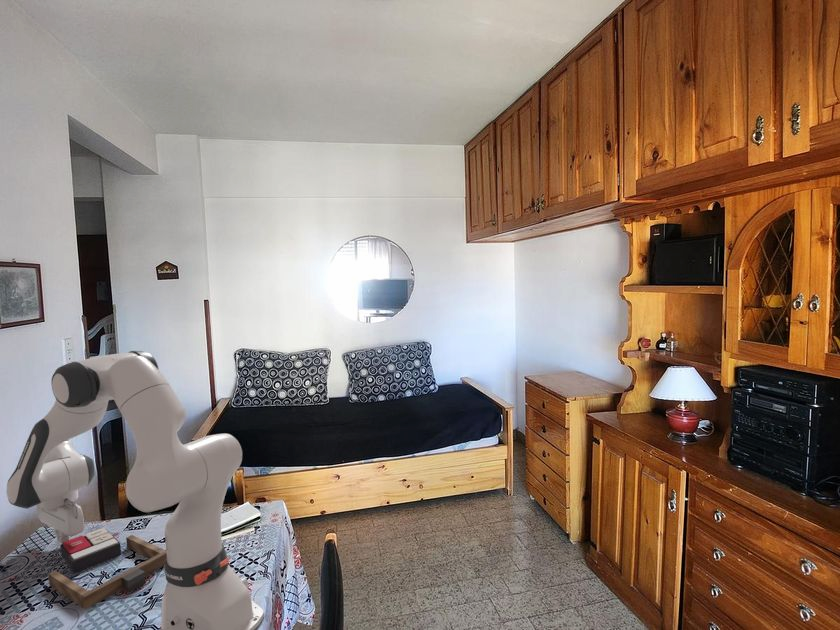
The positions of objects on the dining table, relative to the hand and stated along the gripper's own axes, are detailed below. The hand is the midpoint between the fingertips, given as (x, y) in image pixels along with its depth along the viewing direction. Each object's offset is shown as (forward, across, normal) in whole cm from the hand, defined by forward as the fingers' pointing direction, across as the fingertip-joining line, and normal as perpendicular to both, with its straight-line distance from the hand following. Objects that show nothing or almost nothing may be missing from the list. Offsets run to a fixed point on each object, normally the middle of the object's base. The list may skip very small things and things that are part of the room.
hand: (63, 542), depth 132 cm
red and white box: (+2, -12, -2) cm, 12 cm away
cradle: (+2, -28, 0) cm, 28 cm away
